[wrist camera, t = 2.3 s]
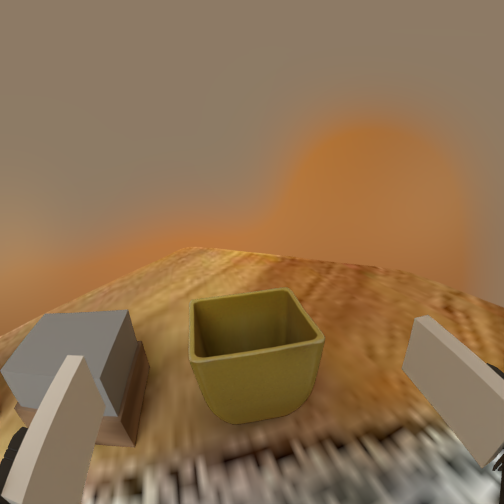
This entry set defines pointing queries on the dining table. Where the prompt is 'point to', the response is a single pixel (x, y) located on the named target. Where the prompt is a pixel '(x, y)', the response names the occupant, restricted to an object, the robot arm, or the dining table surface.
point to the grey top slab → (74, 343)
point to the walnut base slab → (127, 422)
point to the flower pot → (253, 353)
